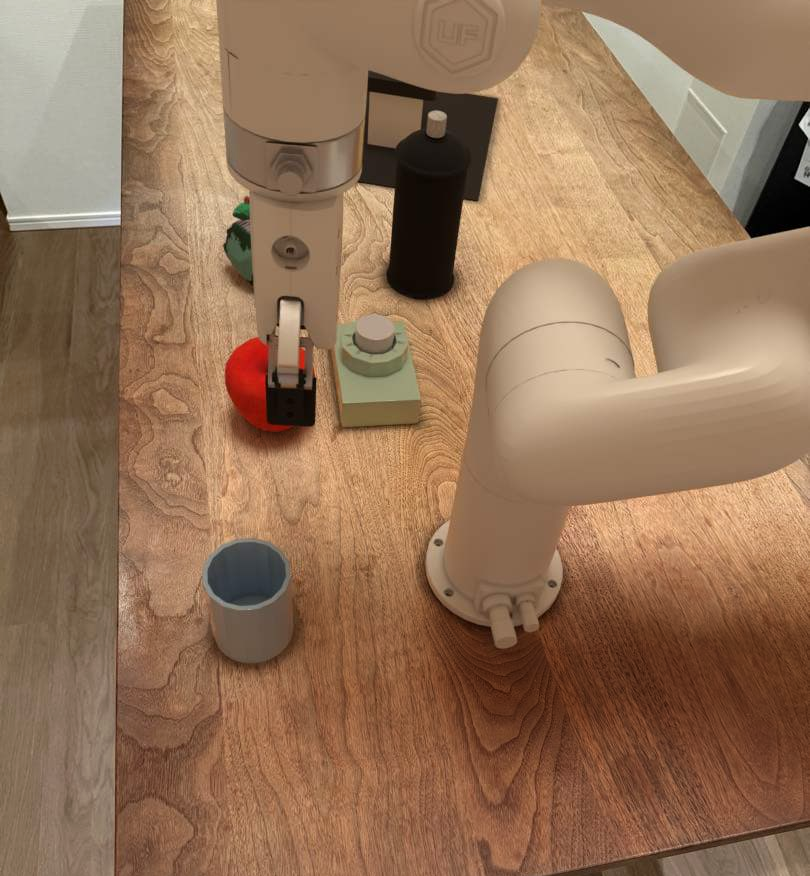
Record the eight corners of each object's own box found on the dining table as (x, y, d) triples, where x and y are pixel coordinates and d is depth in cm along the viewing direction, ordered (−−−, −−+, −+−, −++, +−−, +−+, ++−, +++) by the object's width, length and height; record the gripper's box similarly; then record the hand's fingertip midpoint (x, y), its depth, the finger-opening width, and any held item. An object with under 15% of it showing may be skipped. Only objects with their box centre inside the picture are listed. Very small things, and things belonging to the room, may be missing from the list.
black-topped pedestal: (478, 201, 116) (493, 101, 106) (284, 170, 117) (280, 68, 106) (497, 99, 133) (513, 4, 122) (328, 72, 134) (329, -25, 123)
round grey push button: (395, 354, 90) (397, 338, 88) (357, 356, 89) (357, 340, 87) (390, 328, 92) (391, 313, 90) (352, 330, 91) (353, 314, 90)
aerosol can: (447, 305, 103) (470, 142, 87) (379, 292, 103) (389, 128, 87) (459, 264, 108) (482, 102, 92) (394, 251, 108) (406, 89, 92)
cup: (296, 659, 74) (293, 606, 67) (214, 667, 73) (202, 613, 66) (290, 592, 78) (287, 535, 71) (212, 598, 77) (201, 541, 70)
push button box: (418, 423, 91) (423, 384, 87) (341, 427, 90) (342, 388, 86) (401, 346, 98) (405, 306, 94) (330, 348, 97) (331, 309, 93)
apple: (220, 395, 91) (212, 336, 85) (301, 379, 94) (299, 321, 87) (241, 456, 87) (235, 399, 80) (326, 437, 89) (326, 381, 83)
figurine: (298, 295, 94) (392, 236, 101) (230, 189, 91) (331, 136, 98) (256, 328, 105) (344, 273, 112) (193, 235, 102) (288, 184, 109)
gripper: (363, 239, 43) (346, 468, 57) (363, 68, 53) (349, 297, 67) (208, 228, 42) (229, 462, 56) (238, 57, 53) (250, 290, 66)
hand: (294, 372), depth 61 cm, fingers open, 9 cm apart
